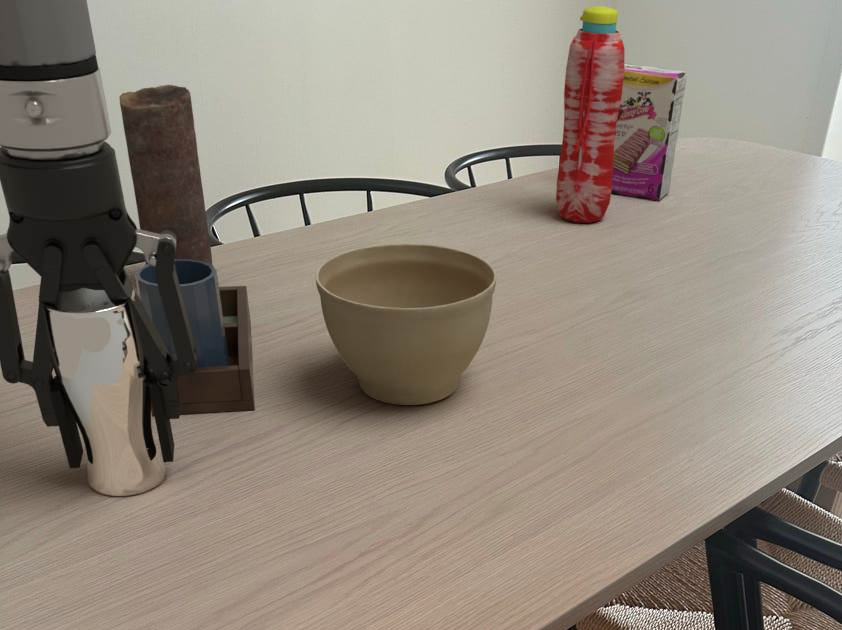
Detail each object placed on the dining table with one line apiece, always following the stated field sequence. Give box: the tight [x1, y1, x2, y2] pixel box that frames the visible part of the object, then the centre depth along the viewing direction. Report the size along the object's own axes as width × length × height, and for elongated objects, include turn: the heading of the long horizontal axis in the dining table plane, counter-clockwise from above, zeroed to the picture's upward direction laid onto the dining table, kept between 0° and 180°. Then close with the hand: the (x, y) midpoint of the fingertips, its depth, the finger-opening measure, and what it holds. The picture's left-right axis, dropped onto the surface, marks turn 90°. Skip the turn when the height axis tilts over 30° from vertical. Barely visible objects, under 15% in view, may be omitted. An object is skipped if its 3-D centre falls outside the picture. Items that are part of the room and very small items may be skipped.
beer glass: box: [41, 288, 167, 497], centre depth 76 cm, size 7×7×15 cm
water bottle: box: [555, 5, 626, 224], centre depth 131 cm, size 12×8×25 cm, turn 158°
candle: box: [119, 84, 214, 266], centre depth 107 cm, size 8×7×20 cm
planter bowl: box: [314, 242, 497, 406], centre depth 92 cm, size 16×16×11 cm
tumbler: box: [134, 259, 230, 367], centre depth 89 cm, size 7×7×10 cm
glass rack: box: [137, 285, 256, 417], centre depth 96 cm, size 11×21×4 cm, turn 11°
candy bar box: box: [611, 62, 688, 202], centre depth 143 cm, size 11×5×16 cm, turn 65°
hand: (123, 456), depth 79 cm, fingers closed on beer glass, 6 cm apart
